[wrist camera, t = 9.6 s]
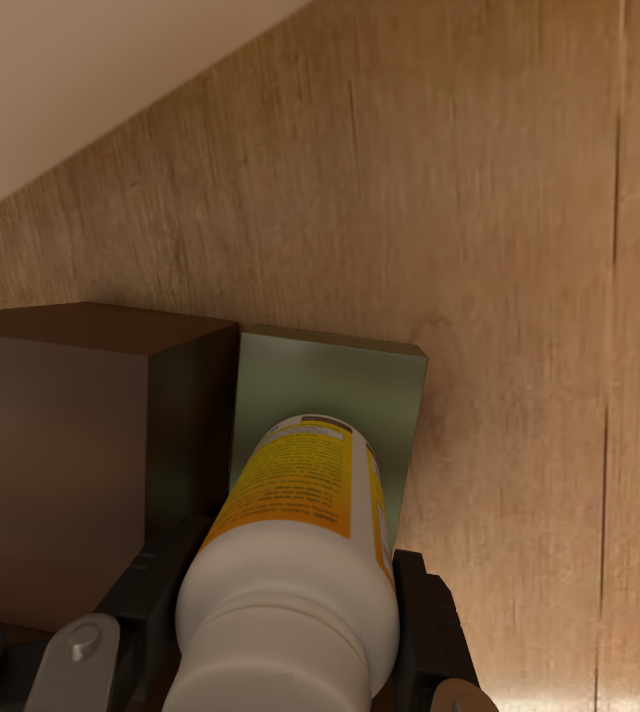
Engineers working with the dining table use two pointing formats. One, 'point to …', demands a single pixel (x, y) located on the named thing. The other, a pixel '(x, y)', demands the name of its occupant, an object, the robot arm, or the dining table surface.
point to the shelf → (161, 440)
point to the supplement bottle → (292, 582)
